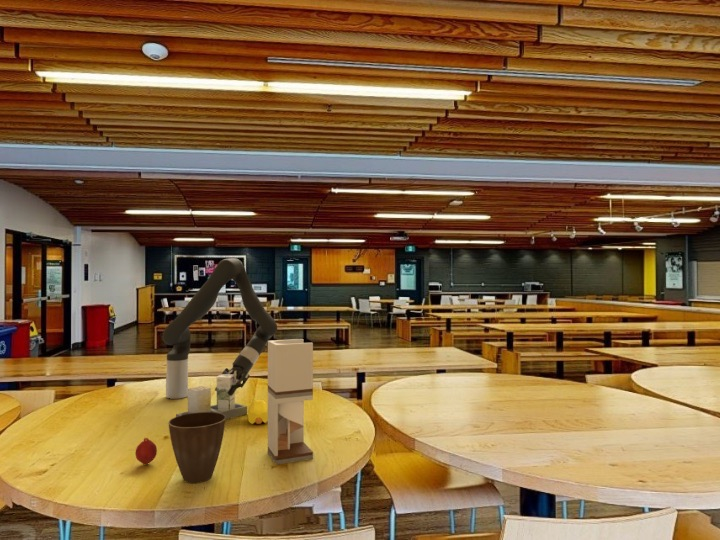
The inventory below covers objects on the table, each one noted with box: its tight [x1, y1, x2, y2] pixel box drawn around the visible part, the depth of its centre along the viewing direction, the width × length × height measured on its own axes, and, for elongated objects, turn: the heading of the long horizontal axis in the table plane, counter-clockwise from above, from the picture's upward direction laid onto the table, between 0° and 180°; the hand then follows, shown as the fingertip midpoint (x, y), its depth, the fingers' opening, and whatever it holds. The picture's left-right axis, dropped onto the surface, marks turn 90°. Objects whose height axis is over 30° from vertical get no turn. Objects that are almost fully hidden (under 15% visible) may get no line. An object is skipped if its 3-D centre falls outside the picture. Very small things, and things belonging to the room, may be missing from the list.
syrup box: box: [216, 373, 236, 412], centre depth 193 cm, size 6×6×14 cm
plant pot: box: [167, 412, 226, 484], centre depth 132 cm, size 15×15×16 cm
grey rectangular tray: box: [175, 402, 248, 421], centre depth 188 cm, size 12×24×3 cm, turn 142°
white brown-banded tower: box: [267, 338, 314, 465], centre depth 149 cm, size 11×11×35 cm
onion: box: [134, 437, 158, 465], centre depth 141 cm, size 6×6×8 cm
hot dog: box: [247, 399, 268, 425], centre depth 187 cm, size 18×7×8 cm
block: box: [187, 385, 212, 414], centre depth 184 cm, size 6×6×12 cm
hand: (222, 392), depth 192 cm, fingers closed on syrup box, 8 cm apart
